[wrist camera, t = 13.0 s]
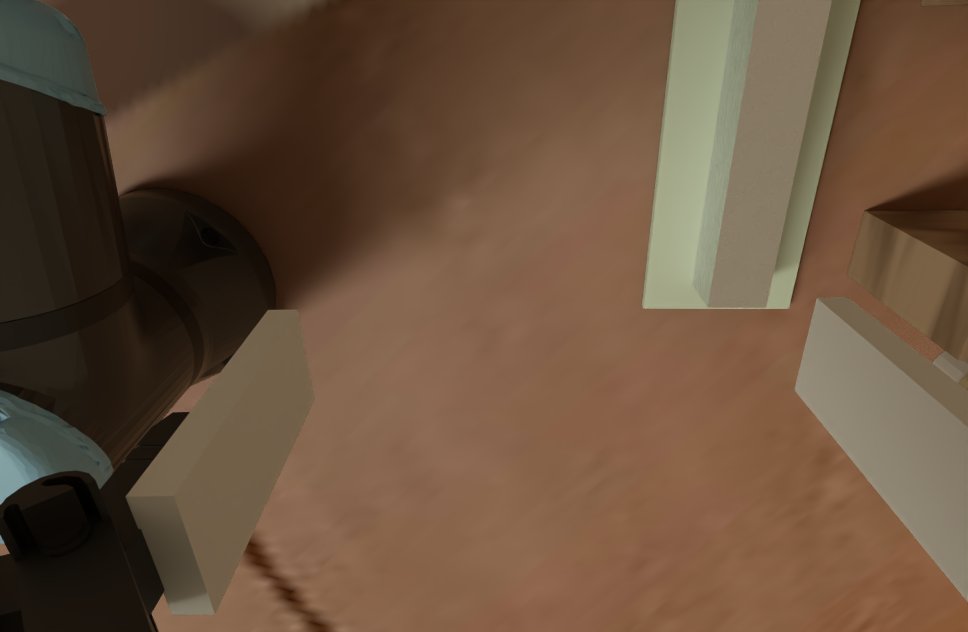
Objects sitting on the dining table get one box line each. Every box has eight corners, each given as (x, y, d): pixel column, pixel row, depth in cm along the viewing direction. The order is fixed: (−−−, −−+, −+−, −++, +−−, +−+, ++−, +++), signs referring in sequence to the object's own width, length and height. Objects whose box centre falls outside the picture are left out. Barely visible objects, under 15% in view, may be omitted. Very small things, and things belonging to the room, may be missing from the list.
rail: (745, 284, 45) (766, 307, 41) (692, 284, 45) (707, 307, 41) (820, -100, 34) (856, -114, 30) (749, -98, 34) (776, -112, 31)
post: (846, 275, 45) (958, 360, 34) (864, 210, 42) (990, 278, 31) (942, 275, 44) (1087, 361, 33) (965, 210, 42) (1129, 278, 31)
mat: (642, 305, 47) (643, 308, 46) (690, -136, 34) (693, -139, 34) (785, 305, 46) (788, 308, 45) (888, -143, 34) (894, -145, 33)
